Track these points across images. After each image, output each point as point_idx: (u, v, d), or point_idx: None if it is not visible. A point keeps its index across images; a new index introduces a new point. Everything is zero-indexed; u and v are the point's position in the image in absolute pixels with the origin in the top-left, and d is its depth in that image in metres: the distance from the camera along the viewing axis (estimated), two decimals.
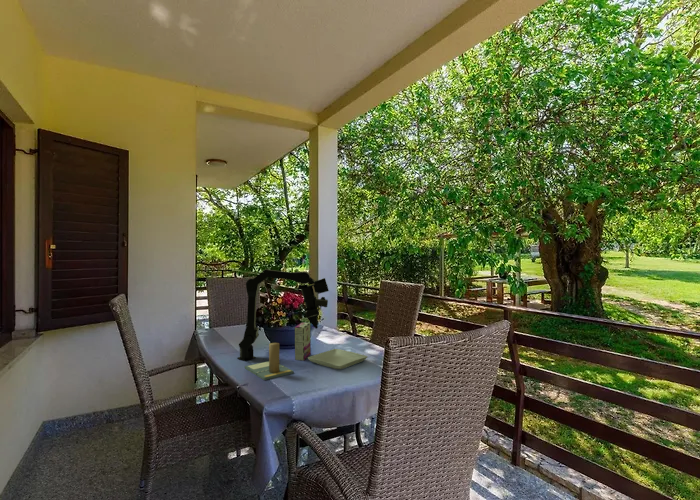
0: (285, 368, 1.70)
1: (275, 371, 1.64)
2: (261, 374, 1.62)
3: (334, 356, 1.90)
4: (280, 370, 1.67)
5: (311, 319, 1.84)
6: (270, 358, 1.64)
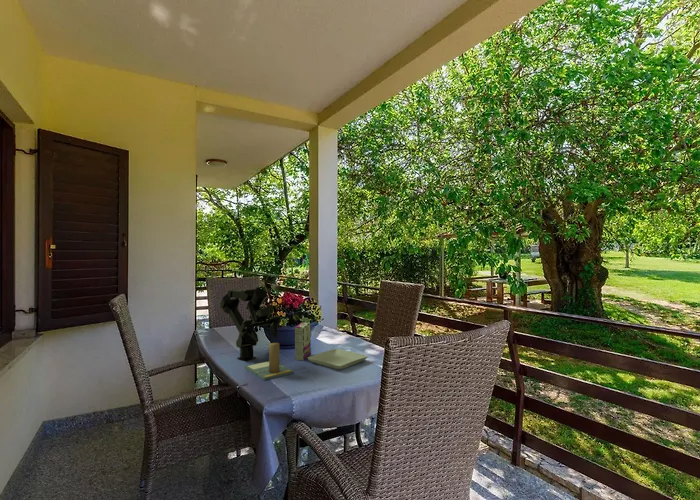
0: (285, 368, 1.70)
1: (275, 371, 1.64)
2: (261, 374, 1.62)
3: (334, 356, 1.90)
4: (280, 370, 1.67)
5: (250, 333, 1.71)
6: (270, 358, 1.64)
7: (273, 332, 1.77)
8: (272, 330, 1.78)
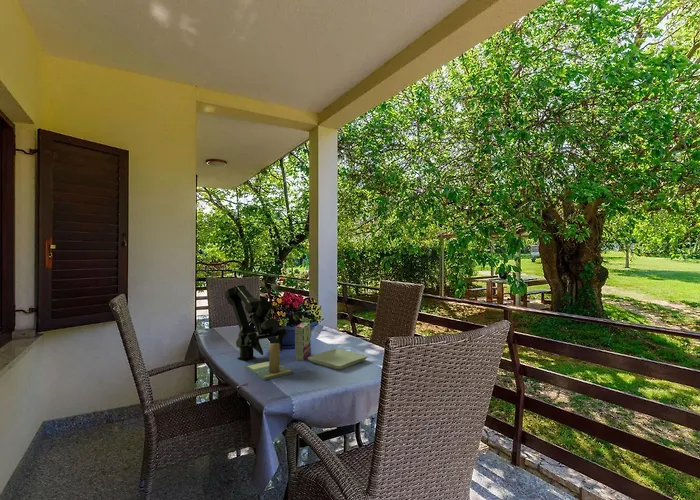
0: (285, 368, 1.70)
1: (275, 371, 1.64)
2: (261, 374, 1.62)
3: (334, 356, 1.90)
4: (280, 370, 1.67)
5: (254, 346, 1.67)
6: (270, 358, 1.64)
7: (279, 345, 1.72)
8: None
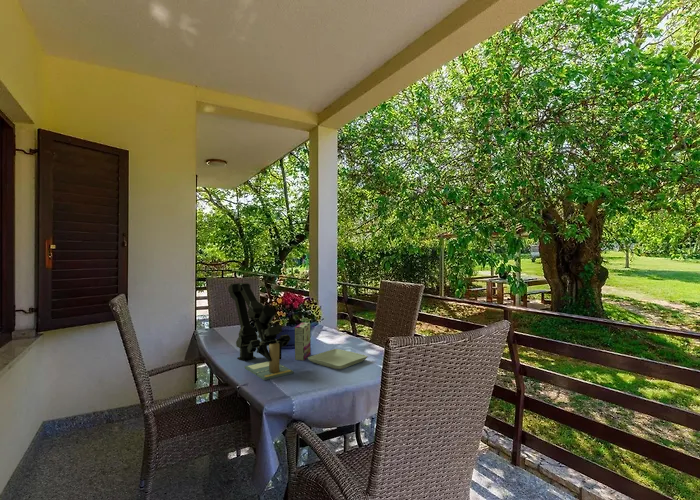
0: (285, 368, 1.70)
1: (275, 371, 1.64)
2: (261, 374, 1.62)
3: (334, 356, 1.90)
4: (280, 370, 1.67)
5: (262, 352, 1.66)
6: None
7: None
8: None
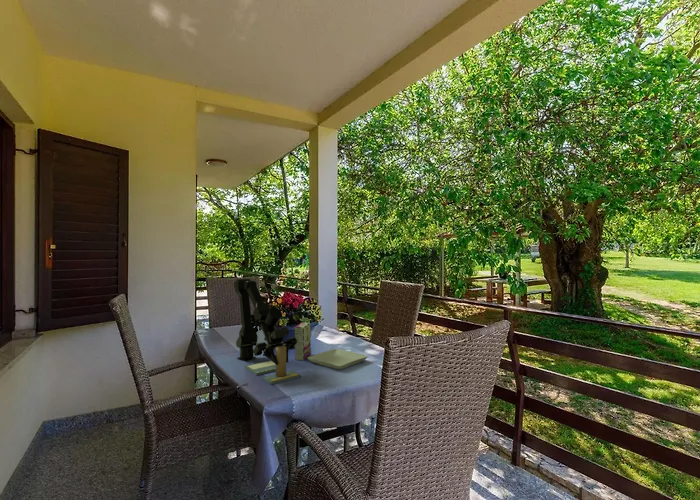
0: (292, 372, 1.65)
1: (282, 375, 1.59)
2: (267, 378, 1.57)
3: (334, 356, 1.90)
4: (287, 374, 1.62)
5: (269, 355, 1.61)
6: None
7: None
8: None
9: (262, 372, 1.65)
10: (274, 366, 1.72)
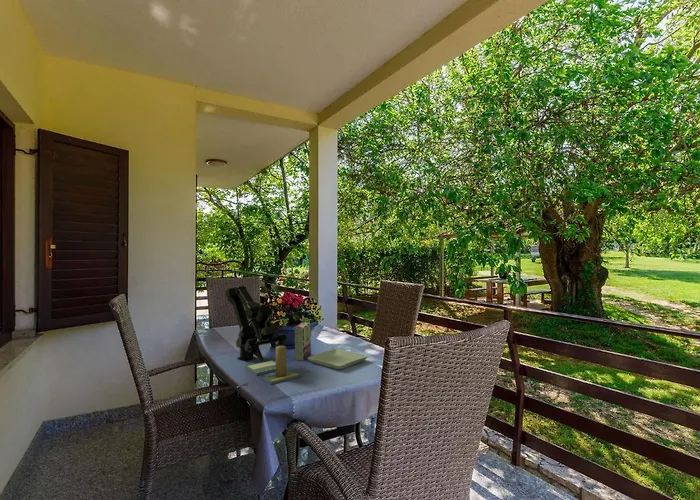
0: (292, 372, 1.65)
1: (282, 375, 1.59)
2: (267, 378, 1.57)
3: (334, 356, 1.90)
4: (287, 374, 1.62)
5: (254, 352, 1.67)
6: (277, 361, 1.59)
7: None
8: None
9: (262, 372, 1.65)
10: (274, 366, 1.72)
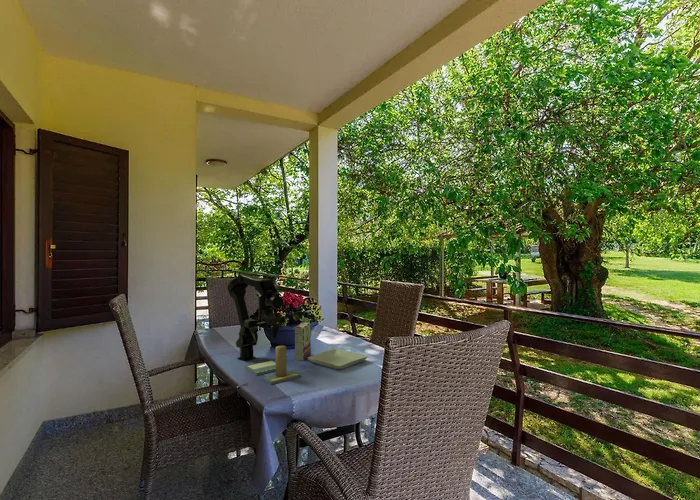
0: (292, 372, 1.65)
1: (282, 375, 1.59)
2: (267, 378, 1.57)
3: (334, 356, 1.90)
4: (287, 374, 1.62)
5: (251, 330, 1.74)
6: (277, 361, 1.59)
7: (273, 331, 1.80)
8: (273, 328, 1.81)
9: (262, 372, 1.65)
10: (274, 366, 1.72)
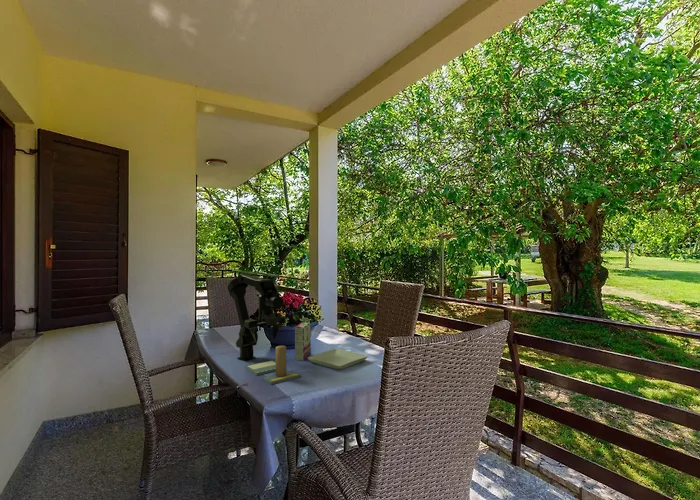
0: (292, 372, 1.65)
1: (282, 375, 1.59)
2: (267, 378, 1.57)
3: (334, 356, 1.90)
4: (287, 374, 1.62)
5: (251, 330, 1.74)
6: (277, 361, 1.59)
7: (273, 331, 1.80)
8: (273, 328, 1.81)
9: (262, 372, 1.65)
10: (274, 366, 1.72)
